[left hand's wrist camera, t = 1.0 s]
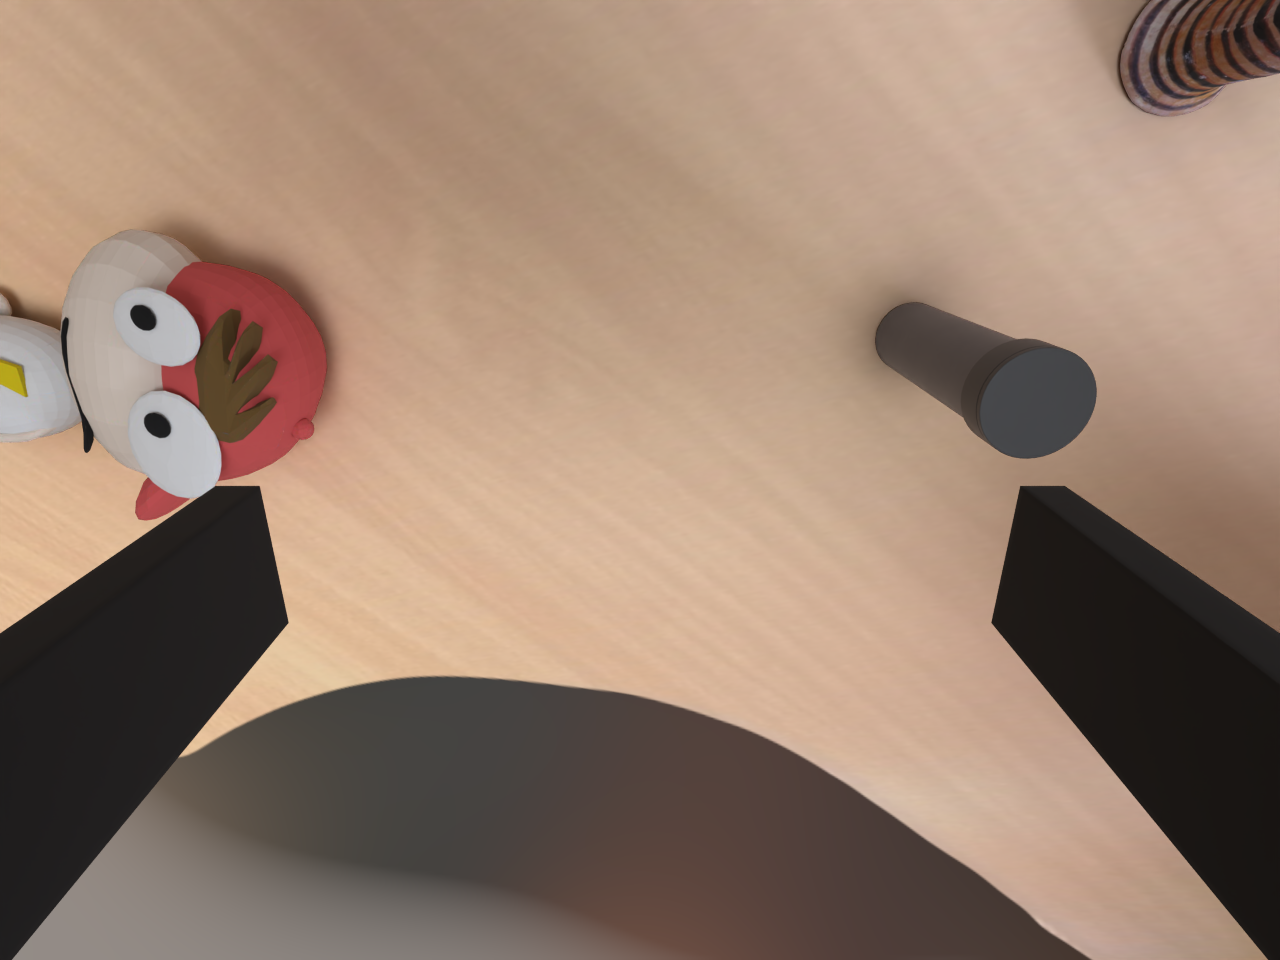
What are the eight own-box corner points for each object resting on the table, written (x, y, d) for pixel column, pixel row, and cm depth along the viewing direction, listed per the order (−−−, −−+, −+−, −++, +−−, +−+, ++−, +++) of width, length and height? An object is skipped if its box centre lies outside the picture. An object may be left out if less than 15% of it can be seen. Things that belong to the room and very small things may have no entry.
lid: (967, 456, 35) (986, 471, 33) (953, 356, 33) (973, 366, 31) (1074, 427, 34) (1100, 441, 32) (1066, 324, 32) (1093, 332, 31)
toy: (-325, 152, 36) (253, 285, 35) (-108, 149, 45) (355, 254, 44) (-200, 478, 44) (269, 593, 43) (-38, 419, 53) (352, 513, 52)
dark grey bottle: (881, 378, 48) (988, 460, 33) (869, 313, 46) (977, 369, 32) (947, 359, 47) (1087, 433, 33) (938, 293, 46) (1079, 340, 31)
